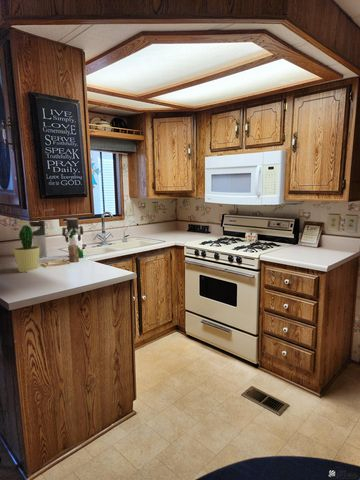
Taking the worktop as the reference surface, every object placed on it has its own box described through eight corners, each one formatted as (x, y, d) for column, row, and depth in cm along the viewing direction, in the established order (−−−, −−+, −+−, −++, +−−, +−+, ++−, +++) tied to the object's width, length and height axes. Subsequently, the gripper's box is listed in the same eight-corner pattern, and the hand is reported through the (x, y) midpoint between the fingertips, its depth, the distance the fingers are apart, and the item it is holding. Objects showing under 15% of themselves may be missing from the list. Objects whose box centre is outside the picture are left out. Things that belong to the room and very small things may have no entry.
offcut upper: (46, 264, 215) (45, 262, 215) (61, 262, 223) (60, 259, 223) (48, 265, 213) (48, 262, 213) (63, 262, 221) (63, 260, 221)
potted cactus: (16, 268, 209) (12, 223, 205) (42, 266, 215) (38, 222, 210) (13, 274, 195) (9, 225, 191) (40, 271, 200) (37, 224, 196)
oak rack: (41, 266, 216) (40, 262, 216) (64, 262, 226) (64, 259, 226) (46, 269, 208) (45, 265, 207) (70, 265, 218) (70, 261, 217)
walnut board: (74, 263, 222) (73, 246, 220) (69, 261, 229) (68, 245, 228) (78, 262, 224) (77, 246, 222) (73, 260, 231) (72, 244, 230)
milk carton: (68, 258, 243) (66, 232, 241) (78, 256, 250) (77, 231, 247) (74, 259, 238) (73, 233, 235) (85, 257, 245) (83, 231, 242)
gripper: (63, 219, 215) (65, 243, 217) (83, 218, 224) (85, 240, 227) (60, 218, 221) (61, 241, 223) (79, 217, 230) (80, 239, 232)
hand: (73, 241), depth 225 cm, fingers open, 8 cm apart
